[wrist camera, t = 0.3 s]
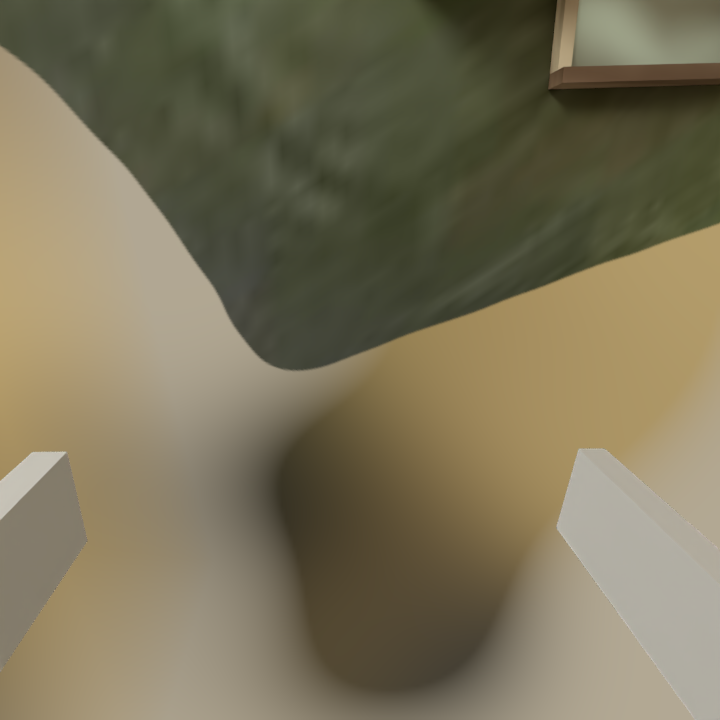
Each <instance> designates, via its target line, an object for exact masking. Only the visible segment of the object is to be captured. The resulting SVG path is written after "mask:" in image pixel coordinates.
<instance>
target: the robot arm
mask: <svg viewBox="0 0 720 720" xmlns="http://www.w3.org/2000/svg"><path fill="white" fill-rule="evenodd" d="M556 528H557V530H558V531H559V532H560V534H561V535H562V537H563V538H564V539H565V541H566V542H567V543H568V545H569V546H570V548H571V549H572V550H573V552H574V553H575V555H576V556H577V557H578V559H579V560H580V561H581V563H582V564H583V566H584V567H585V568H586V570H587V571H588V573H589V574H590V575H591V577H592V578H593V579H594V581H595V582H596V583H597V585H598V586H599V588H600V589H601V591H602V592H603V593H604V595H605V596H606V597H607V599H608V600H609V602H610V603H611V604H612V606H613V607H614V609H615V610H616V611H617V613H618V614H619V615H620V617H621V618H622V620H623V621H624V622H625V624H626V625H627V627H628V628H629V629H630V631H631V632H632V633H633V635H634V636H635V637H636V639H637V640H638V642H639V643H640V644H641V646H642V647H643V649H644V650H645V651H646V653H647V654H648V656H649V657H650V658H651V660H652V661H653V663H654V664H655V665H656V667H657V668H658V669H659V671H660V672H661V674H662V675H663V676H664V678H665V679H666V680H667V682H668V683H669V685H670V686H671V687H672V689H673V690H674V692H675V693H676V694H677V696H678V697H679V699H680V700H681V701H682V703H683V704H684V705H685V707H686V708H687V710H688V711H689V712H690V714H691V715H692V717H693V718H694V719H695V720H720V549H719V548H718V547H716V546H715V545H714V544H713V543H712V542H711V541H709V540H708V539H707V538H706V537H705V536H704V535H703V534H701V533H700V532H699V531H698V530H697V529H696V528H695V527H693V526H692V525H691V524H690V523H689V522H688V521H687V520H686V519H684V518H683V517H682V516H681V515H680V514H679V513H678V512H676V511H675V510H674V509H673V508H672V507H671V506H670V505H668V504H667V503H666V502H665V501H664V500H663V499H662V498H660V497H659V496H658V495H657V494H656V493H655V492H654V491H652V490H651V489H650V488H649V487H648V486H647V485H646V484H645V483H643V482H642V481H641V480H640V479H639V478H638V477H637V476H635V475H634V474H633V473H632V472H631V471H630V470H629V469H627V468H626V467H625V466H624V465H623V464H622V463H620V462H619V461H618V460H617V459H616V458H615V457H614V456H613V455H611V454H610V453H609V452H608V451H607V450H606V449H578V453H577V457H576V460H575V463H574V467H573V471H572V474H571V478H570V482H569V485H568V488H567V492H566V495H565V499H564V503H563V506H562V509H561V513H560V516H559V520H558V523H557V527H556ZM86 542H87V537H86V533H85V528H84V524H83V519H82V515H81V511H80V506H79V502H78V498H77V493H76V489H75V484H74V480H73V476H72V472H71V467H70V463H69V458H68V454H67V452H32V453H31V454H30V455H29V456H28V457H27V458H25V459H24V460H23V461H22V462H21V463H20V464H19V465H18V466H17V467H15V469H13V470H12V471H11V472H10V473H9V474H8V475H7V476H5V478H3V479H2V480H1V481H0V671H1V670H2V669H3V667H4V665H5V664H6V662H7V661H8V659H9V658H10V656H11V655H12V653H13V652H14V650H15V649H16V647H17V646H18V644H19V643H20V641H21V640H22V638H23V637H24V635H25V634H26V632H27V631H28V629H29V628H30V626H31V625H32V623H33V622H34V620H35V619H36V617H37V616H38V614H39V613H40V611H41V610H42V608H43V607H44V605H45V604H46V602H47V601H48V599H49V598H50V596H51V595H52V593H53V592H54V590H55V589H56V587H57V586H58V584H59V583H60V581H61V580H62V578H63V577H64V575H65V574H66V572H67V571H68V569H69V568H70V566H71V565H72V563H73V562H74V560H75V559H76V557H77V556H78V554H79V553H80V551H81V549H82V548H83V547H84V545H85V544H86Z"/></svg>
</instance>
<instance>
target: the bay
mask: <svg viewBox="0 0 720 720" xmlns="http://www.w3.org/2000/svg"><path fill="white" fill-rule="evenodd" d="M685 85H720V0H557V8H556V18H555V28H554V38H553V48H552V57H551V67H550V77H549V87H548V89H582V88H617V87H651V86H685Z"/></svg>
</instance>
